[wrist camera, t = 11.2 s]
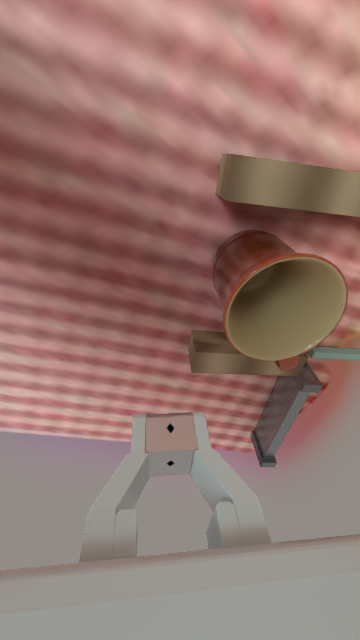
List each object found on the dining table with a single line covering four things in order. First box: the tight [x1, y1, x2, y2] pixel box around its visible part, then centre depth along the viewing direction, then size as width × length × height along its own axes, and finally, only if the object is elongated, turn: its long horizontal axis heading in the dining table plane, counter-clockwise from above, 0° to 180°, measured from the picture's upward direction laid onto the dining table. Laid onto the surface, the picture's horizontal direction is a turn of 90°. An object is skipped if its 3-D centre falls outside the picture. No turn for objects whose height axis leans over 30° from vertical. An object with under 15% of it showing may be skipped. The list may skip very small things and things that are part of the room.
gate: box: [251, 362, 323, 467], centre depth 37 cm, size 2×18×5 cm, turn 174°
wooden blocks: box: [188, 154, 360, 376], centre depth 26 cm, size 13×21×4 cm, turn 173°
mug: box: [212, 230, 348, 371], centre depth 23 cm, size 12×9×10 cm
